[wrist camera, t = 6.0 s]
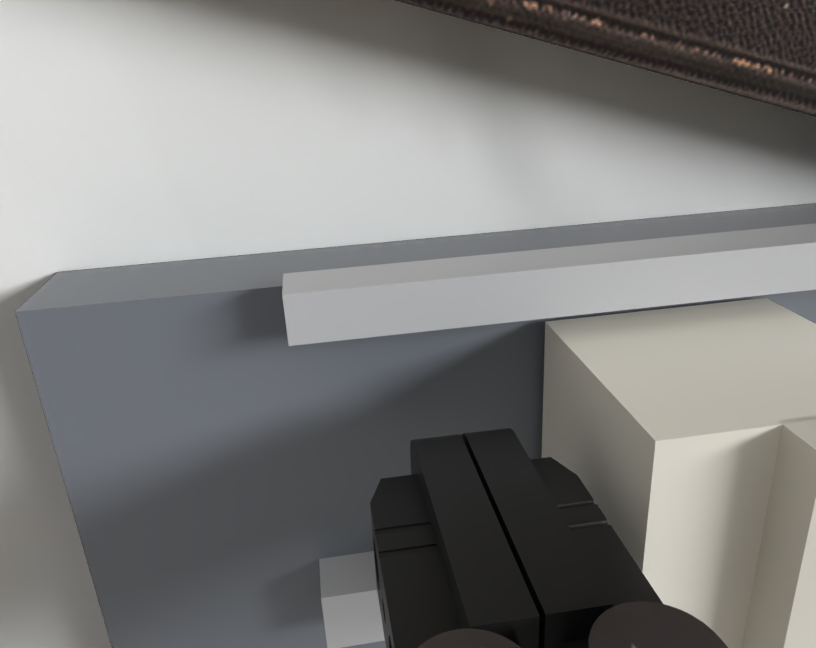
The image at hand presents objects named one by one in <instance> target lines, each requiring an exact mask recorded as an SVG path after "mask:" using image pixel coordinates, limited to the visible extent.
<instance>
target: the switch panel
mask: <svg viewBox="0 0 816 648" xmlns="http://www.w3.org/2000/svg"><path fill="white" fill-rule="evenodd" d="M760 298H767V299H769V300H771V301H773V302H775V303H777V304H779V305H781V306H783V307H785V308H786V309H788V310H790V311H792V312H794V313H796V314H798V315H800V316H802V317H804V318H805V319H807V320H809V321H811V322H813V323H815V324H816V203H815V204H804V205H792V206H781V207H770V208H759V209H748V210H737V211H726V212H715V213H704V214H693V215H682V216H671V217H660V218H649V219H638V220H626V221H615V222H604V223H593V224H582V225H571V226H560V227H549V228H538V229H527V230H516V231H505V232H494V233H483V234H472V235H461V236H449V237H438V238H427V239H416V240H405V241H394V242H383V243H372V244H361V245H350V246H339V247H328V248H317V249H306V250H295V251H283V252H272V253H261V254H250V255H239V256H228V257H217V258H206V259H195V260H184V261H173V262H162V263H151V264H140V265H129V266H118V267H106V268H95V269H84V270H73V271H62V272H57V273H56V274H55V275H54V276H53V277H52V278H51V279H49V280H48V281H47V282H46V283H45V284H44V285H43V286H42V287H41V288H40V289H39V290H38V291H37V292H36V293H34V294H33V295H32V296H31V297H30V298H29V299H28V300H27V301H26V302H25V303H24V304H23V305H22V306H21V307H20V308H18V309H17V310H16V311H15V314H16V317H17V321H18V324H19V328H20V331H21V335H22V338H23V341H24V345H25V348H26V352H27V355H28V359H29V362H30V366H31V369H32V373H33V376H34V379H35V383H36V386H37V390H38V393H39V397H40V400H41V404H42V407H43V411H44V414H45V417H46V421H47V424H48V428H49V431H50V435H51V438H52V442H53V445H54V449H55V452H56V455H57V459H58V462H59V466H60V469H61V473H62V476H63V480H64V483H65V487H66V490H67V493H68V497H69V500H70V504H71V507H72V511H73V514H74V518H75V521H76V525H77V528H78V531H79V535H80V538H81V542H82V545H83V549H84V552H85V556H86V559H87V563H88V566H89V569H90V573H91V576H92V580H93V583H94V587H95V590H96V594H97V597H98V601H99V604H100V608H101V611H102V614H103V618H104V621H105V625H106V628H107V632H108V635H109V639H110V642H111V646H112V648H386V643H385V638H384V632H383V625H382V617H381V612H380V606H379V599H378V593H377V586H376V573H375V560H374V547H373V534H372V521H371V508H370V502H371V500H372V497H373V495H374V493H375V491H376V488H377V486H378V484H379V482H380V479H382V478H390V477H398V476H406V475H411V460H410V443H411V440H416V439H424V438H432V437H440V436H449V435H457V434H460V435H462V434H464V433H472V432H481V431H489V430H497V429H505V428H511V429H512V430H513V431H514V432H515V434H516V436H517V438H518V439H519V441H520V443H521V445H522V446H523V448H524V450H525V451H526V453H527V455H528V457H529V458H530V459H538V458H541V457H542V422H543V386H544V350H545V322H547V321H556V320H565V319H574V318H584V317H593V316H602V315H611V314H621V313H630V312H639V311H649V310H658V309H667V308H676V307H686V306H695V305H704V304H713V303H723V302H732V301H741V300H750V299H760Z"/></svg>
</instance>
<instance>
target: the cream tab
mask: <svg viewBox="0 0 816 648" xmlns="http://www.w3.org/2000/svg"><path fill="white" fill-rule="evenodd" d="M546 457H552V458H553V459H554V460H556V461H557V462H559V463H560V464H562V465H563V466H565V467H566V468H568V469H569V470H571V471H572V472H573V473H575V474H576V475H578V477H579V478H580V480H581V481H582V483H583V484H584V486H585V487H586V489H587V490H588V492H589V493H590V495H591V496H592V498H593V499H594V504H597V505H598V507H599V508H600V510H601V511H602V513H603V514H604V516H605V517H606V519H607V523H608V525H611V526H612V528H613V529H614V531H615V532H616V534H617V535H618V537H619V538H620V540H621V541H622V543H623V544H624V546H625V547H626V549H627V550H628V552H629V553H630V555H631V556H632V558H633V559H634V561H635V562H636V564H637V565H638V567H639V568H640V570H641V571H642V573H643V574H644V576H645V577H646V579H647V580H648V582H649V583H650V585H651V586H652V588H653V589H654V591H655V592H656V594H657V595H658V597H659V598H660V600H661V601H662V603H663V604H665V605H669V606H672V607H675V608H677V609H680V610H682V611H685V612H687V613H689V614H691V615H693V616H694V617H696V618H697V619H699V620H700V621H702V622H703V623H705V624H706V625H707V626H708V627H710V628H711V629H712V630H713V631H714V632H715V633H716V634H717V635H718V636H719V637H720V638H721V640H722V641H723V642H724V643H725V644H726V646H727V647H728V648H816V324H815V323H813V322H811V321H809V320H807V319H805V318H804V317H802V316H800V315H798V314H796V313H794V312H792V311H790V310H788V309H786V308H785V307H783V306H781V305H779V304H777V303H775V302H773V301H771V300H769V299H767V298H760V299H750V300H741V301H732V302H723V303H713V304H704V305H695V306H686V307H676V308H667V309H658V310H649V311H639V312H630V313H621V314H611V315H602V316H593V317H584V318H574V319H565V320H556V321H547V322H545V350H544V386H543V422H542V457H541V458H546Z"/></svg>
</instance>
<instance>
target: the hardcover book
mask: <svg viewBox="0 0 816 648" xmlns="http://www.w3.org/2000/svg"><path fill="white" fill-rule="evenodd" d="M396 1H400V2H403V3H407V4H410V5H414V6H418V7H421V8H425V9H428V10H432V11H436V12H439V13H443V14H447V15H450V16H454V17H457V18H461V19H465V20H468V21H472V22H475V23H479V24H483V25H486V26H490V27H494V28H497V29H501V30H504V31H508V32H512V33H515V34H519V35H522V36H526V37H530V38H533V39H537V40H541V41H544V42H548V43H551V44H555V45H559V46H562V47H566V48H569V49H573V50H577V51H580V52H584V53H588V54H591V55H595V56H598V57H602V58H606V59H609V60H613V61H616V62H620V63H624V64H627V65H631V66H635V67H638V68H642V69H645V70H649V71H653V72H656V73H660V74H663V75H667V76H671V77H674V78H678V79H681V80H685V81H689V82H692V83H696V84H700V85H703V86H707V87H710V88H714V89H718V90H721V91H725V92H728V93H732V94H736V95H739V96H743V97H747V98H750V99H754V100H757V101H761V102H765V103H768V104H772V105H775V106H779V107H783V108H786V109H790V110H794V111H797V112H801V113H804V114H808V115H812V116H815V117H816V0H396Z"/></svg>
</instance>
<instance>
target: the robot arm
mask: <svg viewBox="0 0 816 648" xmlns="http://www.w3.org/2000/svg"><path fill="white" fill-rule="evenodd" d="M410 460H411V475H406V476H398V477H390V478H382V479H380V482H379V484H378V486H377V488H376V491H375V493H374V495H373V497H372V500H371V502H370V508H371V521H372V534H373V547H374V560H375V573H376V586H377V593H378V599H379V606H380V612H381V617H382V625H383V632H384V638H385V643H386V648H728V647H727V646H726V644H725V643H724V642H723V641H722V640H721V638H720V637H719V636H718V635H717V634H716V633H715V632H714V631H713V630H712V629H711V628H710V627H708V626H707V625H706V624H705V623H703V622H702V621H700V620H699V619H697V618H696V617H694V616H693V615H691V614H689V613H687V612H685V611H682V610H680V609H677V608H675V607H672V606H669V605H665V604H663V603H662V601H661V600H660V598H659V597H658V595H657V594H656V592H655V591H654V589H653V588H652V586H651V585H650V583H649V582H648V580H647V579H646V577H645V576H644V574H643V573H642V571H641V570H640V568H639V567H638V565H637V564H636V562H635V561H634V559H633V558H632V556H631V555H630V553H629V552H628V550H627V549H626V547H625V546H624V544H623V543H622V541H621V540H620V538H619V537H618V535H617V534H616V532H615V531H614V529H613V528H612V526H611V525H608V523H607V519H606V517H605V516H604V514H603V513H602V511H601V510H600V508H599V507H598V505H597V504H594V499H593V498H592V496H591V495H590V493H589V492H588V490H587V489H586V487H585V486H584V484H583V483H582V481H581V480H580V478H579V477H578V475H576V474H575V473H573V472H572V471H571V470H569V469H568V468H566V467H565V466H563V465H562V464H560V463H559V462H557V461H556V460H554V459H553V458H552V457H546V458H538V459H530V458H529V457H528V455H527V453H526V451H525V450H524V448H523V446H522V445H521V443H520V441H519V439H518V438H517V436H516V434H515V432H514V431H513V430H512V429H511V428H505V429H497V430H489V431H481V432H472V433H464V434H462V435H460V434H457V435H449V436H440V437H432V438H424V439H416V440H411V443H410Z"/></svg>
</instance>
